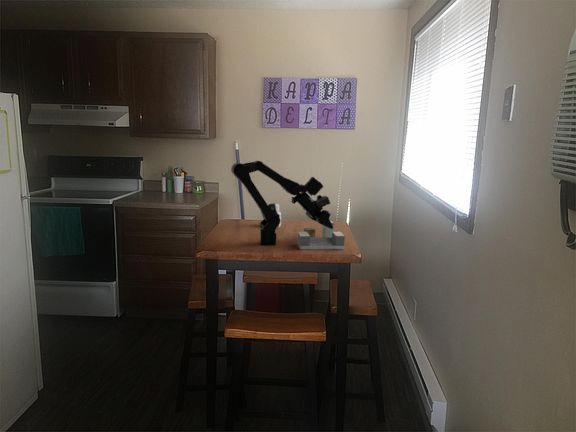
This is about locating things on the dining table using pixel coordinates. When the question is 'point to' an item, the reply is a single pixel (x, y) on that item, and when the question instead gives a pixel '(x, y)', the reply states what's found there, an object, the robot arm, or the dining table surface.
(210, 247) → the dining table surface
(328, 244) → the grey base plate
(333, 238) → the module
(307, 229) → the walnut block
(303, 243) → the block
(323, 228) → the block
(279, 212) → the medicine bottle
